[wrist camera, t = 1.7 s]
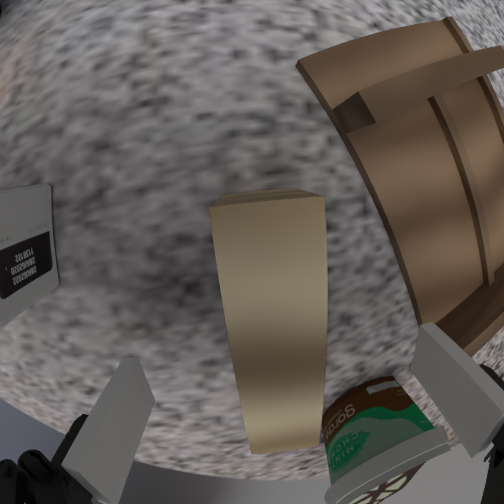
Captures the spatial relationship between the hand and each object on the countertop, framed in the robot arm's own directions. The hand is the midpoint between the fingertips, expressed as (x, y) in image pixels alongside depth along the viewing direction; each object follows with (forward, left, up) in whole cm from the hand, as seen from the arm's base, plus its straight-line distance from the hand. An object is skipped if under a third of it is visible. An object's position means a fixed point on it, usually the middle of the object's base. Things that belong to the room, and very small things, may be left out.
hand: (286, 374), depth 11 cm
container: (-14, -14, -7) cm, 21 cm away
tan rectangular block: (0, 0, -7) cm, 7 cm away
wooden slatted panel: (+1, +16, -7) cm, 18 cm away
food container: (+14, 0, -7) cm, 15 cm away
